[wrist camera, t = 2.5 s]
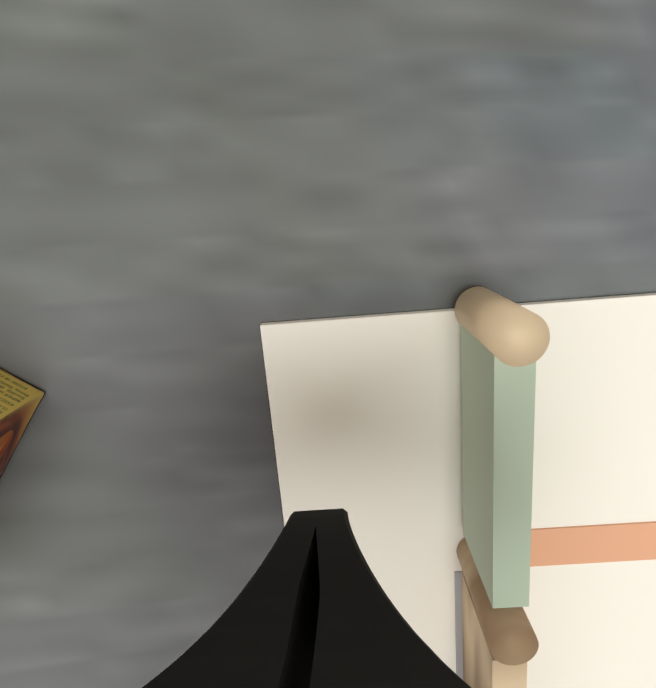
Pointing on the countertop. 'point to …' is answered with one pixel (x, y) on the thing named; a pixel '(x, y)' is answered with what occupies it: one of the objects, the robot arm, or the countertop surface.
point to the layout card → (446, 472)
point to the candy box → (14, 412)
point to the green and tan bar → (499, 437)
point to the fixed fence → (492, 634)
